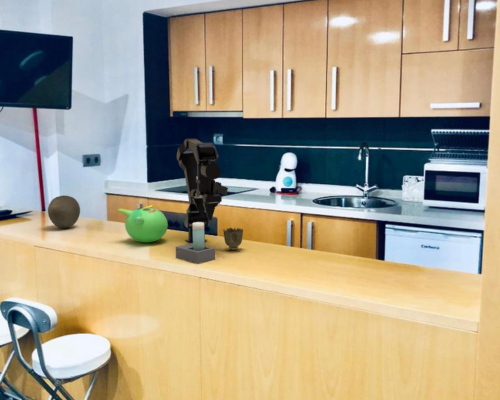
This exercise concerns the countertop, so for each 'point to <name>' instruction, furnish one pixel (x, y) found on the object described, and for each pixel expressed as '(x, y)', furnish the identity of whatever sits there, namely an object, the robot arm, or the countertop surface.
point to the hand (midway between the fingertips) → (206, 218)
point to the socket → (195, 253)
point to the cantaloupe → (64, 211)
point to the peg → (198, 236)
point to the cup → (233, 238)
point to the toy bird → (145, 224)
